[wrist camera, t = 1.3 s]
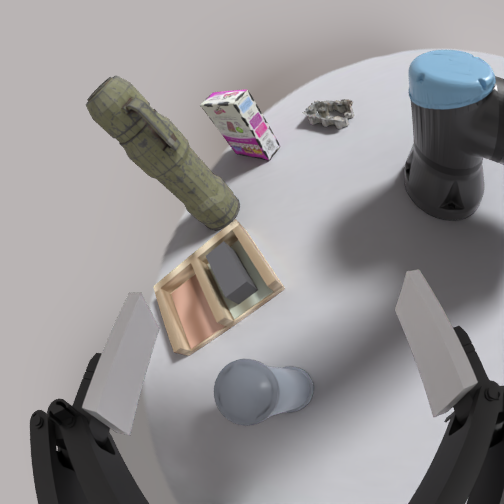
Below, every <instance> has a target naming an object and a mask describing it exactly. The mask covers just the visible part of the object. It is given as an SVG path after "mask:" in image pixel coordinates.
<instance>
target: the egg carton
mask: <svg viewBox="0 0 504 504" xmlns="http://www.w3.org/2000/svg"><path fill="white" fill-rule="evenodd" d="M352 103H353V102H352V101H351V100H345V99H344V100H341V101H337V100H336V101H321V102H319V101H314V104H313V103H311V106H309V107H308V108H306V111H304V112H302V113H303V114H305V115H307V117H308V120H309V121H310V124H311V125H315V124H316V123H319V122H320V123H322V124H323V126H324V127H328V126H329V125H336V128H337V129H341V128H343V127H347V126H348V125H349V123H348V119H349V118H353V117H354V113H353V110H352V108H351V106H352ZM317 110H318V113H319V115H318V114H317V112H316V111H317ZM334 110H338V111H339V113H344V118H342V117H341V116H335V117H334V118H333V117H330V115H329V112H332V111H334Z"/></svg>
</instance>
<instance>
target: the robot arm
mask: <svg viewBox="0 0 504 504" xmlns="http://www.w3.org/2000/svg"><path fill="white" fill-rule="evenodd" d="M409 96H410V99H411V107H412V118H413V135H414V144H413V147H412V149H411V151H410V154H409V156H408V158H407V161H406V164H405V169H404V180H405V186H406V190H407V192H408V194H409V196H410V197H411V199H412V200H413V201H414V203H415V204H416V205H417V206H418V207H419V208H421V209H422V210H423V211H425V212H426V213H428V214H430V215H432V216H434V217H437V218H440V219H444V220H460V219H464V218H466V217H468V216H470V215H471V214H473V213H474V212H475V211H476V210H477V208H478V207H479V205H480V202H481V200H482V197H483V193H484V176H483V167H482V160H483V158H486V159H489V160H492V161H495V162H497V163H500V164H503V165H504V79H502V78H499V77H496V76H495V75H494V73H493V70H492V68H491V67H490V66H489V65H488V64H487V63H486V62H485V61H484V60H482V59H480V58H479V57H473V55H472V54H469V53H466V52H461V51H456V50H435V51H430V52H427V53H424V54H421V55H419V56H418V57H416V58H415V59H414V60H413V61H412V63H411V65H410V67H409ZM395 312H396V314H397V316H398V319H399V321H400V323H401V326H402V328H403V330H404V333H405V335H406V338H407V340H408V343H409V346H410V348H411V351H412V353H413V356H414V359H415V361H416V364H417V367H418V370H419V373H420V376H421V379H422V381H423V385H424V388H425V391H426V394H427V397H428V400H429V404H430V407H431V410H432V414H433V417H436V416H439V415H441V414H444V413H446V412H448V411H449V410H450V409H451V408H452V407H453V408H454V412H453V413H452V414H451V415H449V416H448V417H447V418H446V420H445V421H444V422H447V421H448V420H450V422H449V424H448V427H447V430H446V432H445V434H444V437H443V439H442V442H441V444H440V446H439V448H438V450H437V453H436V455H435V457H434V459H433V461H432V463H431V465H430V467H429V469H428V471H427V473H426V475H425V476H424V478H423V480H422V482H421V484H420V485H419V487H418V489H417V490H416V492H415V494H414V495H413V497H412V499H411V500H410V502H409V503H408V504H465V503H466V501H467V499H468V501H467V504H504V386H499V385H498V384H497V383H496V382H494V381H490V380H489V379H488V377H487V375H486V373H485V370H484V368H483V366H482V363H481V361H480V359H479V357H478V355H477V353H476V352H475V348H474V346H473V344H471V343H472V342H471V340H470V338H469V336H468V334H467V333H466V332H465V331H464V330H463V329H462V328H461V327H460V326H457V327H454V328H453V327H452V325H451V323H450V321H449V319H448V317H447V316H446V314H445V312H444V310H443V308H442V306H441V305H440V303H439V301H438V299H437V298H436V296H435V294H434V293H433V291H432V289H431V288H430V286H429V284H428V283H427V281H426V279H425V278H424V276H423V275H422V273H421V271H420V270H411V271H407V272H406V275H405V279H404V282H403V286H402V289H401V292H400V295H399V298H398V302H397V305H396V308H395ZM159 328H160V327H159V325H158V324H157V322H156V320H155V318H154V316H153V314H152V312H151V310H150V308H149V306H148V305H147V303H146V301H145V299H144V297H143V294H142V293H129V294H128V296H127V298H126V300H125V302H124V305H123V307H122V309H121V311H120V313H119V315H118V317H117V320H116V322H115V324H114V326H113V329H112V331H111V333H110V336H109V338H108V340H107V343H106V345H105V347H104V350H103V352H102V354H101V353H96V354H95V355H94V356H93V358H92V359H91V360H90V362H89V364H88V367H87V369H86V372H85V374H84V377H83V379H82V382H81V384H80V388H79V390H78V392H77V395H76V398H75V401H74V404H73V406H71V405H70V404H68V403H67V402H66V401H65V400H63V399H56V400H54V401H53V402H52V403H51V404H50V406H49V408H48V411H47V413H45V412H44V411H42V410H37V411H35V412H34V413H33V414H32V416H31V419H30V443H31V457H32V467H33V476H34V483H35V489H36V494H37V499H38V504H149V503H148V501H147V500H146V498H145V497H144V495H143V494H142V492H141V490H140V489H139V487H138V486H137V484H136V482H135V480H134V479H133V477H132V475H131V473H130V472H129V470H128V468H127V466H126V464H125V462H124V461H123V459H122V457H121V455H120V453H119V451H118V449H117V447H116V445H115V442H114V440H113V438H112V436H111V435H110V433H109V430H110V429H112V430H113V431H115V432H116V433H120V434H124V435H129V436H130V434H131V429H132V425H133V421H134V417H135V413H136V409H137V405H138V401H139V397H140V393H141V390H142V386H143V382H144V379H145V375H146V372H147V368H148V365H149V361H150V358H151V354H152V351H153V348H154V344H155V341H156V338H157V335H158V331H159ZM56 446H58V451H56ZM468 497H469V498H468Z"/></svg>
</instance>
